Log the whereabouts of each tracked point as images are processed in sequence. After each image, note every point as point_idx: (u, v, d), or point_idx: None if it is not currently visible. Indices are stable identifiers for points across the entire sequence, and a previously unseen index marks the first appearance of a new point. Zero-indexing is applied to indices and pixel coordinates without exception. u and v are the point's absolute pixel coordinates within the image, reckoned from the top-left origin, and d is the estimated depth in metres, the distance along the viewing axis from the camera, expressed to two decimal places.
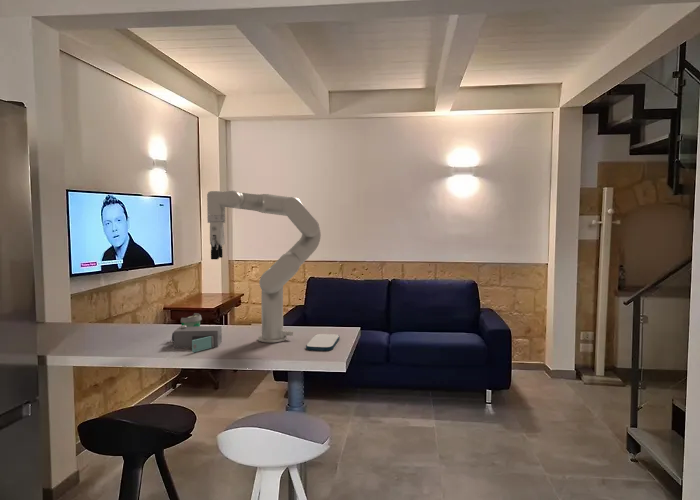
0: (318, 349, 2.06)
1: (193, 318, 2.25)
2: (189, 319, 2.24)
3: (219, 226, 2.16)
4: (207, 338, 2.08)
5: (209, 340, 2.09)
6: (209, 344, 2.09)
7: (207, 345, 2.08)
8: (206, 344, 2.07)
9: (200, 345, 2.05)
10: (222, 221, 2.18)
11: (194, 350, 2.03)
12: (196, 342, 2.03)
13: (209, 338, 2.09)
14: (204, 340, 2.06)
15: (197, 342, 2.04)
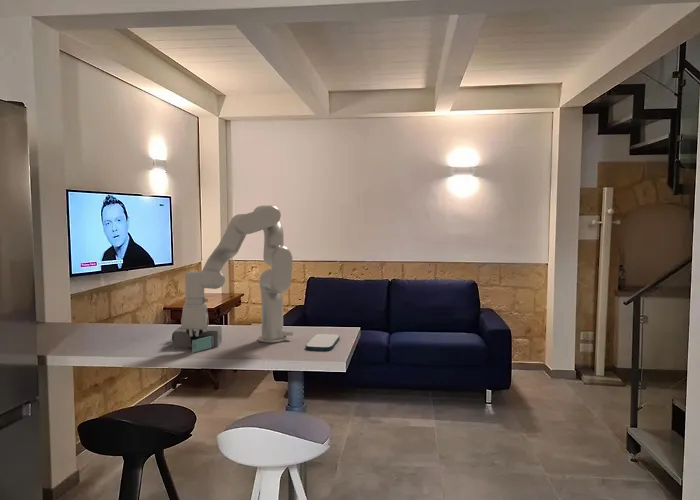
0: (317, 349, 2.06)
1: None
2: None
3: None
4: (207, 338, 2.08)
5: (209, 340, 2.09)
6: (209, 344, 2.09)
7: (207, 345, 2.08)
8: (206, 344, 2.07)
9: (200, 345, 2.05)
10: None
11: (194, 350, 2.03)
12: (196, 342, 2.03)
13: (209, 338, 2.09)
14: (204, 340, 2.06)
15: (197, 342, 2.04)
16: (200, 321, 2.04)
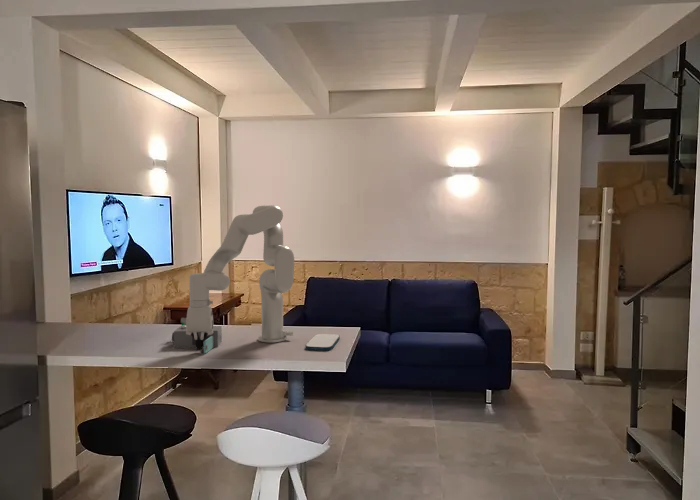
0: (317, 349, 2.06)
1: None
2: None
3: None
4: (211, 338, 2.07)
5: (211, 340, 2.08)
6: (211, 344, 2.08)
7: (211, 345, 2.07)
8: (210, 344, 2.07)
9: (208, 346, 2.04)
10: None
11: (206, 351, 2.01)
12: (206, 343, 2.02)
13: (211, 338, 2.08)
14: (209, 340, 2.06)
15: (207, 343, 2.02)
16: (205, 324, 2.01)
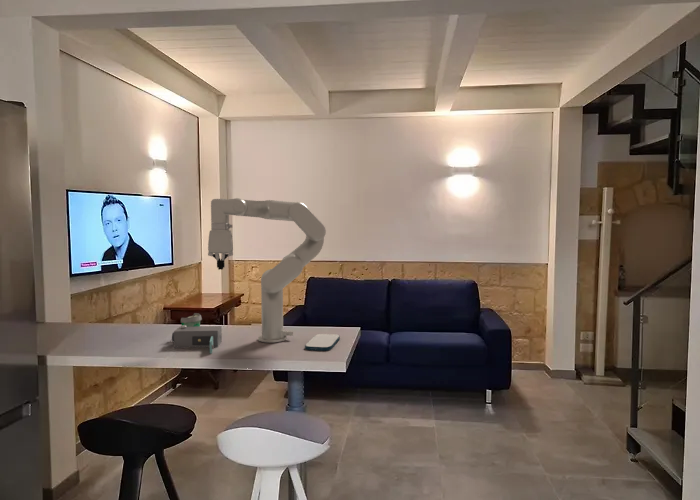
0: (317, 349, 2.06)
1: (193, 318, 2.25)
2: (189, 319, 2.24)
3: None
4: (212, 338, 2.08)
5: None
6: None
7: None
8: None
9: None
10: None
11: (211, 351, 2.01)
12: None
13: (213, 338, 2.09)
14: (212, 340, 2.06)
15: None
16: (226, 245, 2.17)
